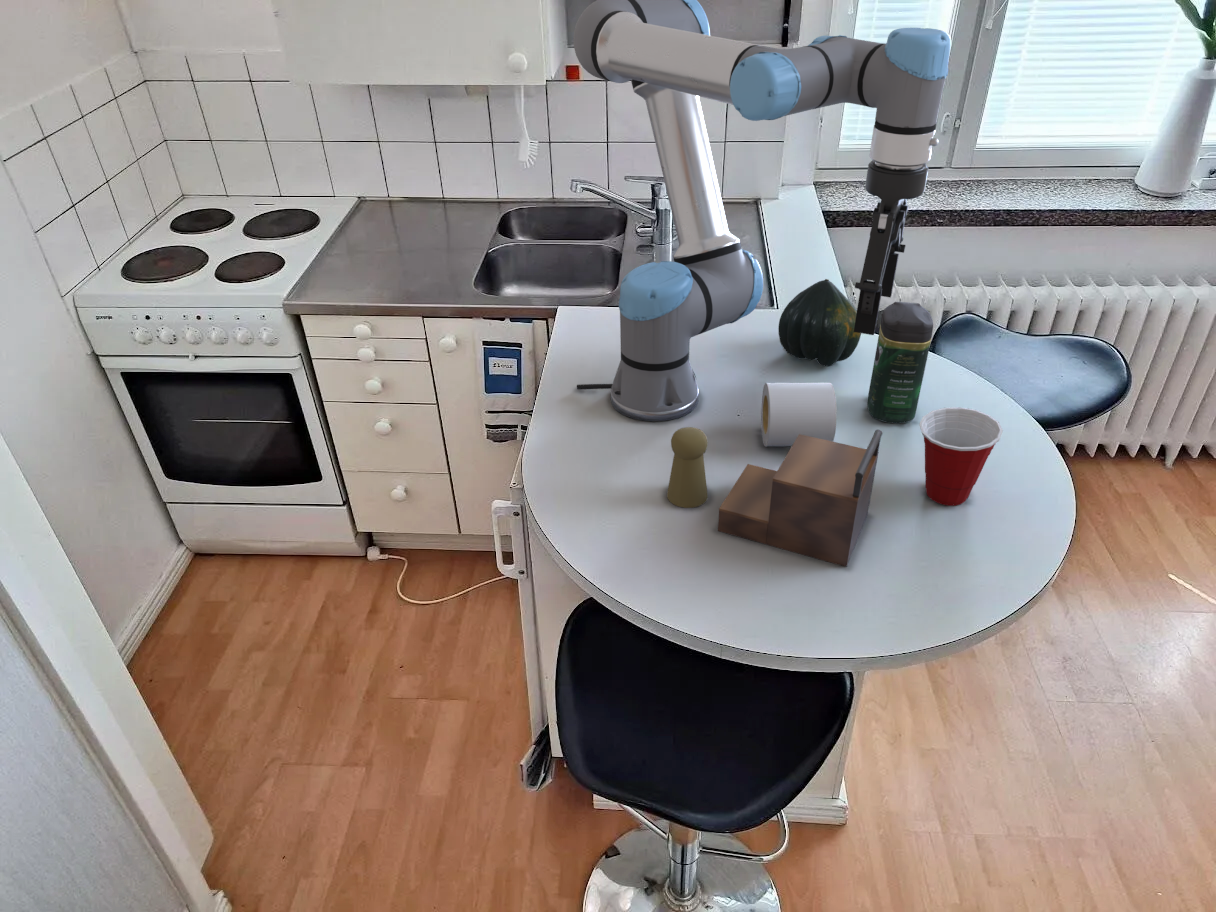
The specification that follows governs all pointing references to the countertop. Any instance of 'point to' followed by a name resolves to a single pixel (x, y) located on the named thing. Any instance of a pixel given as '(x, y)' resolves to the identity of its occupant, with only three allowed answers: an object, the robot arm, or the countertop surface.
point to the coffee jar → (899, 362)
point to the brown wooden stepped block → (806, 499)
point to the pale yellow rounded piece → (688, 468)
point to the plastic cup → (956, 451)
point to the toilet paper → (797, 412)
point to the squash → (819, 325)
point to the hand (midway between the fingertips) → (873, 313)
